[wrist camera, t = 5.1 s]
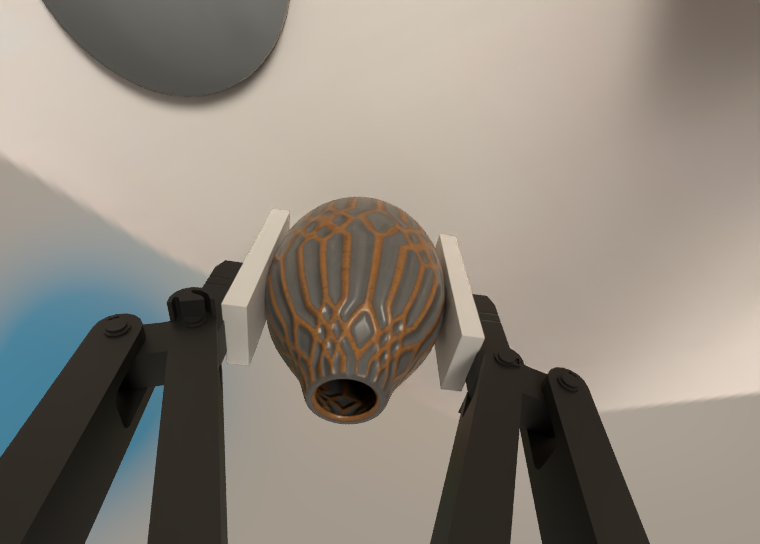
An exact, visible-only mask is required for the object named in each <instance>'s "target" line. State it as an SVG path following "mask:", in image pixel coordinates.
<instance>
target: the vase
mask: <svg viewBox="0 0 760 544" xmlns="http://www.w3.org/2000/svg"><path fill="white" fill-rule="evenodd" d="M444 308H445V282H444V276H443V271H442V267H441V263H440V260H439V257H438V255H437V252H436V249H435V247H434V245H433V243H432V242H431V240H430V238H429V237H428V235H427V234H426V232H425V231H424V230H423V229H422V227H421V226H420V225H419V224H418V223H417V222H416V221H415V220H414V219H413V218H412V217H411V216H409V215H408V214H407V213H406V212H404V211H403V210H401V209H399V208H398V207H396V206H394V205H392V204H389V203H387V202H384V201H381V200H378V199H373V198H367V197H348V198H342V199H337V200H333V201H330V202H328V203H325V204H323V205H321V206H319V207H317V208H315V209H314V210H312V211H310V212H309V213H307V214H306V215H305V216H303V217H302V218H301V219H300V220H299V221H298V222H297V223H296V224H295V225H294V226H293V227H292V228H291V229H290V230H289V232H288V233H287V234H286V236H285V237H284V239H283V240H282V242H281V244H280V245H279V247H278V249H277V251H276V253H275V255H274V258H273V260H272V263H271V266H270V268H269V272H268V276H267V282H266V290H265V310H266V318H267V324H268V328H269V332H270V335H271V338H272V340H273V343H274V345H275V347H276V349H277V350H278V352H279V354H280V356H281V357H282V358H283V360H284V361H285V363H286V364H287V366H288V367H289V368H290V370H291V371H292V372H293V374H294V375H295V376H296V377H297V379H298V380H299V382H300V384H301V388H302V391H303V395H304V399H305V401H306V403H307V406H308V407H309V409H310V410H311V411H312V412H313V413H314V414H316V415H317V416H319V417H321V418H323V419H325V420H327V421H331V422H334V423H339V424H358V423H362V422H366V421H369V420H371V419H373V418H375V417H377V416H378V415H379V414H380V413H381V412H382V411H383V410H384V408H385V407H386V405H387V403H388V401H389V399H390V397H391V395H392V393H393V391H394V390H395V389H396V388H397V387H398V386H399V385H400V384H401V383H402V382H403V381H405V380H406V379H407V378H408V377H409V376H410V375H411V374H412V373H413V372H414V371H415V370H416V369H417V368H418V367H419V366H420V365H421V364H422V362H423V361H424V360H425V358H426V357H427V356H428V354H429V353H430V351H431V349H432V347H433V345H434V343H435V341H436V339H437V336H438V333H439V330H440V327H441V323H442V319H443V315H444Z"/></svg>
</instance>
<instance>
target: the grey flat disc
mask: <svg viewBox="0 0 760 544" xmlns="http://www.w3.org/2000/svg"><path fill="white" fill-rule="evenodd" d="M42 1H43V2H44V4H45V5H46V7H47V8H48V10H49V11H50V12H51V13H52V15H53V16H54V17H55V19H56V20H57V21H58V22H59V24H60V25H61V26H62V27H63V28H64V29H65V31H66V32H67V33H68V34H69V35H70V36H71V37H72V38H73V39H74V40H75V41H76V42H77V43H78V44H79V45H80V46H81V47H82V48H83V49H84V50H85V51H86V52H88V53H89V54H90V55H91V56H92V57H93V58H95V59H96V60H97V61H99V62H100V63H101V64H103V65H104V66H105V67H106V68H108V69H110V70H111V71H113V72H114V73H116V74H118V75H119V76H121V77H122V78H124V79H126V80H128V81H130V82H132V83H134V84H136V85H138V86H141V87H144V88H147V89H149V90H152V91H155V92H159V93H163V94H168V95H174V96H183V97H192V96H204V95H209V94H215V93H218V92H220V91H223V90H226V89H228V88H230V87H232V86H234V85H236V84H238V83H239V82H241V81H243V80H245V79H246V78H247V77H248V76H250V75H251V74H252V73H254V72H255V71H256V70H257V69H258V68H259V67H260V66H261V65H262V63H263V62H264V61H265V60H266V59H267V57H268V56H269V54H270V53H271V51H272V50H273V48H274V47H275V45H276V43H277V41H278V38H279V36H280V34H281V32H282V29H283V26H284V23H285V20H286V17H287V13H288V8H289V3H290V0H42Z"/></svg>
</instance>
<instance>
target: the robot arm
mask: <svg viewBox="0 0 760 544" xmlns="http://www.w3.org/2000/svg"><path fill="white" fill-rule="evenodd" d="M289 220H290V211H286V210H279V209H272V211H271V212H270V214H269V216H268V218H267V220H266V222H265V224H264V225H263V227H262V229H261V231H260V233H259V235H258V237H257V238H256V240H255V242H254V244H253V246H252V248H251V250H250V251H249V253H248V255H247V257H246V259H245V261H244V263H240V262H233V261H226V260H225V261H224V262H222V263H221V264H219V265H218V266H216V267H215V268H214V270H213V272H212V273H211V275H210V277H209V278H208V279H207V281H206V283H205V284H204V286H203V287H202V288H198V287H191V288H185V289H181V290H179V291H177V292H175V293H174V294H173V295H171V296H170V297H169V299H168V301H167V306H168V311H169V316H170V321H168V322H163V323H154V324H144V325H143V324H142V322H141V319H140V318H138V317H137V316H135V315H131V314H116V315H113V316H109V317H106V318H105V319H102V320H101V321H99V322H98V323H97V324H96V325H95V326H94V327H93V328H92V329H91V330H90V332H89V333H88V335H87V336H86V338H85V339H84V340H83V342H82V343H81V345H80V346H79V347H78V349H77V350H76V352H75V353H74V354H73V356H72V357H71V359H70V360H69V362H68V363H67V364H66V366H65V367H64V369H63V370H62V371H61V373H60V374H59V376H58V377H57V378H56V380H55V381H54V383H53V384H52V385H51V387H50V388H49V390H48V391H47V392H46V394H45V395H44V397H43V398H42V399H41V401H40V402H39V404H38V405H37V407H36V408H35V409H34V411H33V412H32V414H31V415H30V416H29V418H28V419H27V421H26V422H25V423H24V425H23V426H22V428H21V429H20V431H19V432H18V434H17V435H16V437H15V438H14V439H13V441H12V442H11V443H10V445H9V446H8V447H7V449H6V450H5V452H4V453H3V455H2V456H1V457H0V544H85V541H86V539H87V537H88V535H89V533H90V530H91V528H92V526H93V524H94V522H95V519H96V517H97V515H98V513H99V510H100V508H101V506H102V504H103V501H104V499H105V497H106V495H107V493H108V490H109V488H110V486H111V484H112V481H113V479H114V477H115V475H116V473H117V470H118V468H119V466H120V463H121V461H122V459H123V457H124V455H125V452H126V450H127V448H128V446H129V444H130V441H131V439H132V437H133V435H134V432H135V430H136V428H137V425H138V423H139V421H140V419H141V417H142V414H143V412H144V410H145V408H146V406H147V403H148V401H149V399H150V397H151V394H152V392H153V390H154V388H155V386H160V385H164V392H163V401H162V411H161V420H160V430H159V439H158V448H157V458H156V467H155V477H154V486H153V496H152V505H151V515H150V524H149V534H148V544H228V538H227V508H226V476H225V445H224V413H223V386H222V385H223V382H222V365H221V363H222V361H223V359H224V356H225V355H226V358H227V364H235V365H244V366H249V365H250V363H251V360H252V357H253V354H254V352H255V349H256V346H257V344H258V341H259V338H260V336H261V333H262V330H263V327H264V325H265V322H266V320H267V318H266V310H265V290H266V282H267V276H268V272H269V268H270V266H271V263H272V260H273V258H274V255H275V253H276V251H277V249H278V247H279V245H280V244H281V242H282V240H283V239H284V237H285V236H286V234H287V233H288V232H289ZM435 249H436V252H437V255H438V257H439V260H440V263H441V267H442V271H443V276H444V282H445V308H444V315H443V319H442V323H441V327H440V330H439V333H438V336H437V339H436V341H435V350H436V357H437V364H438V371H439V379H440V386H441V389H446V390H455V391H462V388H463V386H464V384H465V382H466V385H467V389H468V392H467V395H466V397H465V399H464V401H463V403H462V405H461V408H460V410H459V412H458V413H461V415H460V419H459V424H458V428H457V432H456V436H455V441H454V445H453V449H452V453H451V458H450V462H449V466H448V471H447V474H446V479H445V483H444V487H443V491H442V496H441V500H440V504H439V509H438V513H437V517H436V521H435V525H434V530H433V534H432V539H431V542H430V544H510V539H511V527H512V515H513V502H514V489H515V477H516V464H517V451H518V440H519V428H520V432H521V437H522V442H523V447H524V453H525V457H526V463H527V468H528V473H529V478H530V483H531V488H532V494H533V498H534V504H535V509H536V514H537V519H538V524H539V530H540V535H541V540H542V544H650V543H649V540H648V538H647V535H646V533H645V530H644V528H643V525H642V523H641V520H640V518H639V515H638V512H637V510H636V508H635V505H634V502H633V500H632V497H631V495H630V492H629V490H628V487H627V485H626V482H625V480H624V477H623V475H622V472H621V469H620V467H619V464H618V462H617V460H616V457H615V454H614V452H613V449H612V447H611V444H610V442H609V439H608V437H607V434H606V432H605V429H604V427H603V424H602V421H601V419H600V416H599V414H598V411H597V409H596V406H595V404H594V401H593V399H592V396H591V394H590V391H589V388H588V386H587V385H586V383H585V381H584V380H583V379H582V378H581V377H580V376H579V375H577V374H576V373H574V372H572V371H571V370H568V369H565V368H559V367H556V368H553V369H551V370H550V371H549V373H548V374H545V373H542V372H540V371H537V370H535V369H532V368H530V367H528V366H526V365H524V362H523V360H522V358H521V357H520V355H519V354H517V353H516V352H515V351H514V350H512V349H510V347H509V345H508V342H507V339H506V336H505V333H504V330H503V327H502V325H501V323H500V319H499V316H498V313H497V310H496V307H495V305H494V304H493V303H492V301H491V300H490V299H489V298H488V297H487V296H482V295H475V294H472V292H471V288H470V285H469V281H468V278H467V274H466V271H465V267H464V264H463V260H462V257H461V253H460V250H459V246H458V243H457V239H456V236H450V235H444V234H439V238H438V241H437V245H436V248H435Z"/></svg>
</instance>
